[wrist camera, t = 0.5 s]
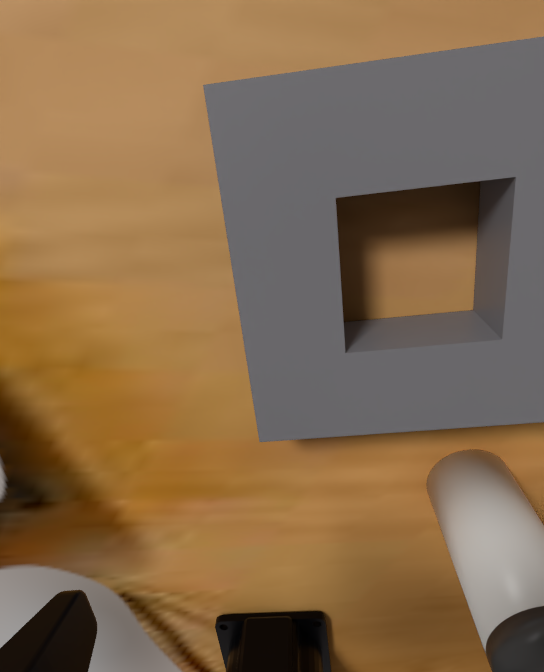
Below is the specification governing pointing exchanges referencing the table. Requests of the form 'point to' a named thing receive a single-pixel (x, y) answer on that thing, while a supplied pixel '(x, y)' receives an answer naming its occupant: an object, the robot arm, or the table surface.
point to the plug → (494, 555)
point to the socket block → (376, 177)
